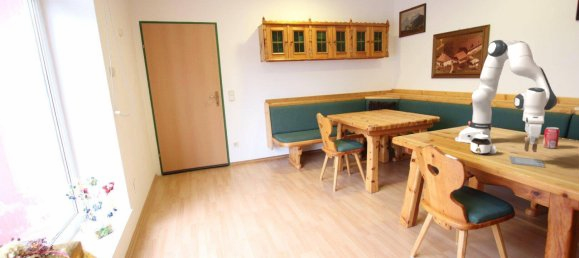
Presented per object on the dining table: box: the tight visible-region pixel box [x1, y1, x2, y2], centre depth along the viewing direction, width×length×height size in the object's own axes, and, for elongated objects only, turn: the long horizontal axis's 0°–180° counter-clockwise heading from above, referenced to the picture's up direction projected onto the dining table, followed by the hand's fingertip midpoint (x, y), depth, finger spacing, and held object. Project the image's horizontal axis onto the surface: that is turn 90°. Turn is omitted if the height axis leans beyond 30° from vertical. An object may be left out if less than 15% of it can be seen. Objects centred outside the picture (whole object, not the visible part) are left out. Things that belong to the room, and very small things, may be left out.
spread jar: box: [470, 134, 497, 156], centre depth 176 cm, size 12×11×12 cm
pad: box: [509, 155, 546, 168], centre depth 159 cm, size 14×14×1 cm
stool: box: [524, 136, 539, 153], centre depth 156 cm, size 5×5×7 cm
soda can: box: [542, 126, 561, 150], centre depth 181 cm, size 7×7×13 cm
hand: (530, 142), depth 156 cm, fingers closed on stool, 5 cm apart
